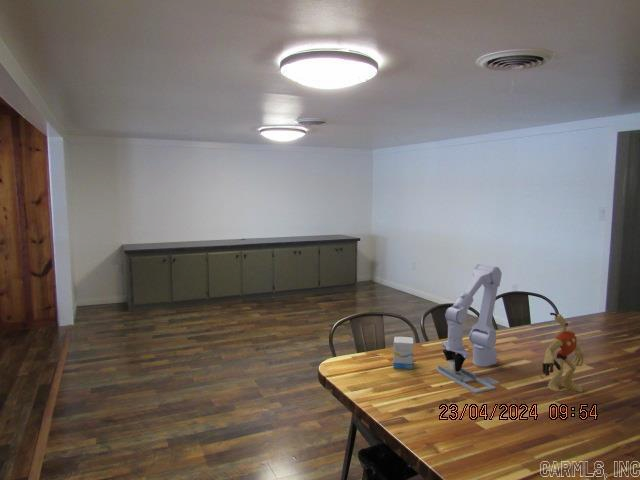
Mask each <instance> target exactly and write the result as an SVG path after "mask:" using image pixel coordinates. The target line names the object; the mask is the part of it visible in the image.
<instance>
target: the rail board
mask: <svg viewBox="0 0 640 480" xmlns="http://www.w3.org/2000/svg"><path fill="white" fill-rule="evenodd" d="M435 372H438V373H439V374H441V375H442V376H444V377H445V378H447V379H449V380H451V381H453V382H454V383H456V384H458V385H460V386H461V387H463V388H464V389H466V390H468V391H470V392H471V393H473V394H479V393H483V392H487V391H488V392H489V391H491V390H495V389H497V387H496V386H494V385H493V384H489V383H487V382H485V381H483V380H481V379H480V378H479V377H477V374H476V373H473V372H471V371H470V370H468V369H466V368H464V367H462V368H461V372H459V373H454V372H452V371H450V370H448V369H447V366H446V367H445V366H444V365H441V364H438V367H437V368H436V369H435ZM474 381H475V382H477V383H479V384H481V386H482V385H483V387H478V388H474V387H473V386H471V385H470V384H467V383H469V382H474Z"/></svg>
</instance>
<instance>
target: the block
mask: <svg viewBox="0 0 640 480" xmlns="http://www.w3.org/2000/svg"><path fill="white" fill-rule="evenodd" d="M446 367H447V369H448V370H450V371H452V372H454V373H459V372H461V371H458V372H456V370H455V361H454V360H448V361H447V360H446Z"/></svg>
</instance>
